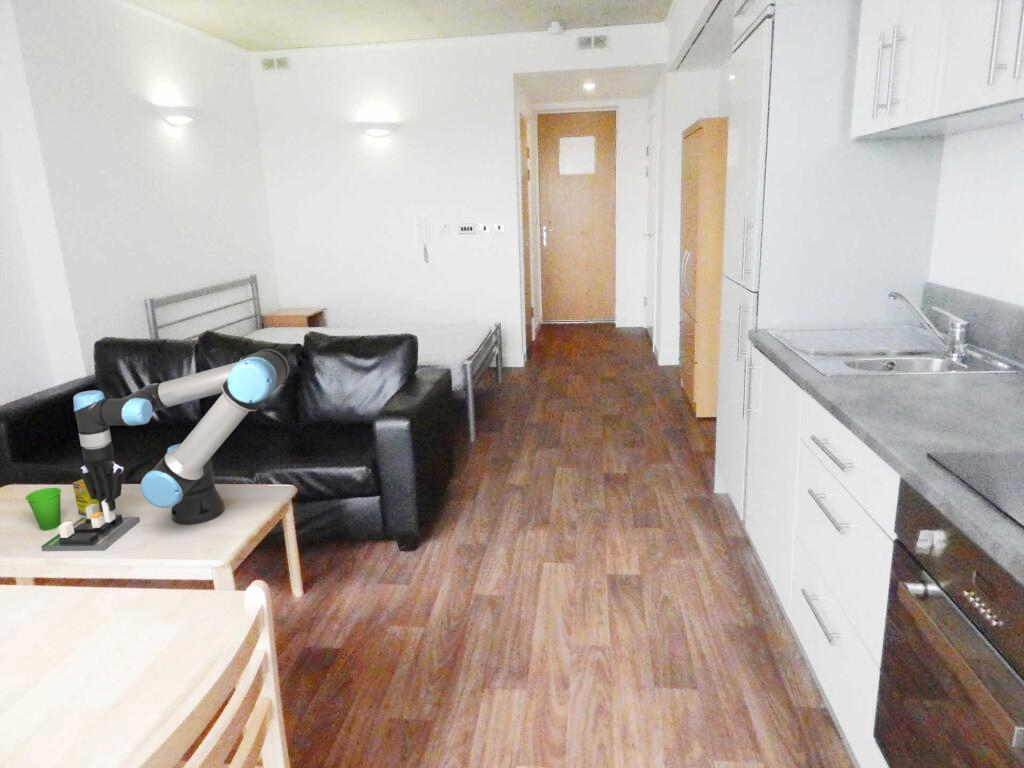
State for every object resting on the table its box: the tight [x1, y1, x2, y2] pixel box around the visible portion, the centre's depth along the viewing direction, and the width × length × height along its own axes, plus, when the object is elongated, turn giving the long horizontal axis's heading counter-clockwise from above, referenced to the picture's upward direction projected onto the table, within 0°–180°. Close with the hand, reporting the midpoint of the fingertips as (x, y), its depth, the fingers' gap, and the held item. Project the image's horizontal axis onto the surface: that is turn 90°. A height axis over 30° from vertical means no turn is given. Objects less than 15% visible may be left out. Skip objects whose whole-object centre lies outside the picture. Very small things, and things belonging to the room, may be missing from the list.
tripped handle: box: [90, 512, 105, 528], centre depth 198 cm, size 2×3×4 cm, turn 179°
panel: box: [40, 514, 140, 552], centre depth 199 cm, size 18×18×3 cm
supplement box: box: [72, 479, 103, 517], centre depth 214 cm, size 6×6×11 cm
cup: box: [25, 487, 62, 532], centre depth 205 cm, size 9×9×11 cm
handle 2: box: [85, 504, 99, 519], centre depth 204 cm, size 2×3×4 cm, turn 179°
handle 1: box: [58, 521, 74, 538], centre depth 193 cm, size 2×3×4 cm, turn 179°
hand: (110, 520), depth 198 cm, fingers closed
